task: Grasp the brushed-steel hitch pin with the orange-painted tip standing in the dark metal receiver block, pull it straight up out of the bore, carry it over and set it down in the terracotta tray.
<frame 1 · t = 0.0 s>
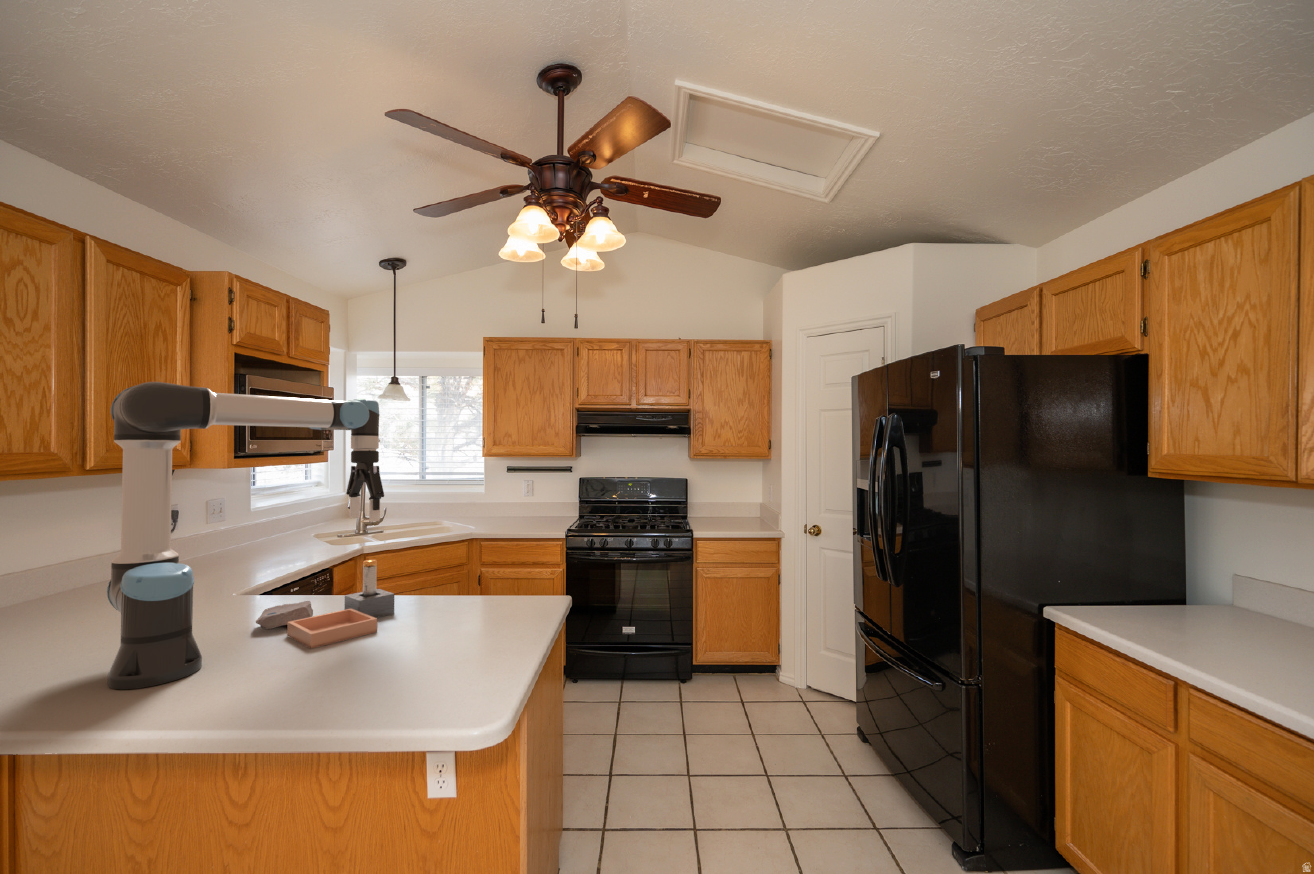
hand: (364, 519, 167), 28 cm above the countertop, fingers open, 13 cm apart
decorative stone: (282, 627, 153), on the countertop
receiver block: (369, 614, 164), on the countertop
tray: (332, 633, 146), on the countertop
pin: (369, 587, 164), in the receiver block
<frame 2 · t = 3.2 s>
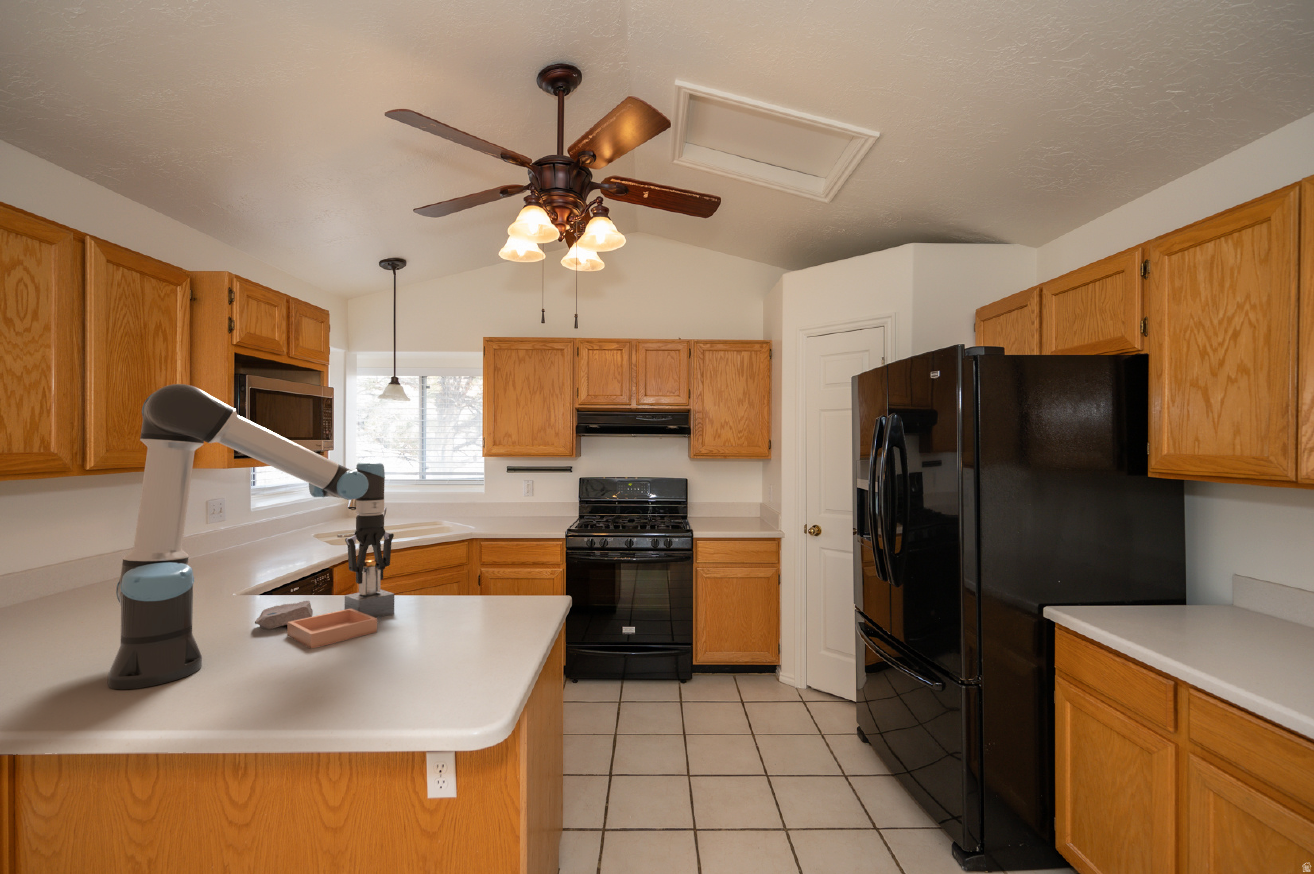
hand: (369, 592, 164), 7 cm above the countertop, fingers closed on pin, 4 cm apart
pin: (369, 587, 164), in the receiver block, touching gripper
everything else where it was.
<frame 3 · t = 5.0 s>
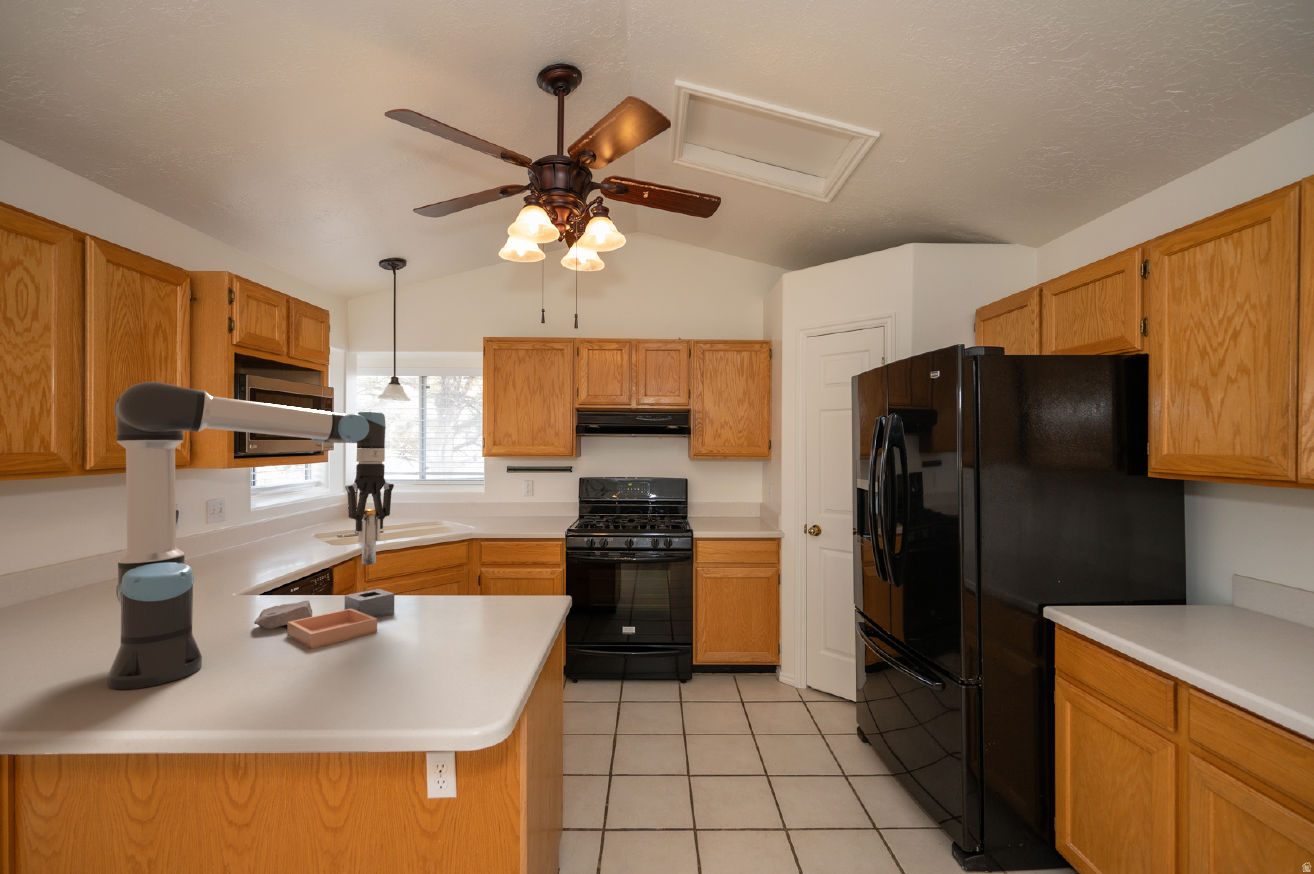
hand: (369, 541, 164), 22 cm above the countertop, fingers closed on pin, 4 cm apart
pin: (369, 536, 164), point 23 cm above the countertop, touching gripper
everything else where it was.
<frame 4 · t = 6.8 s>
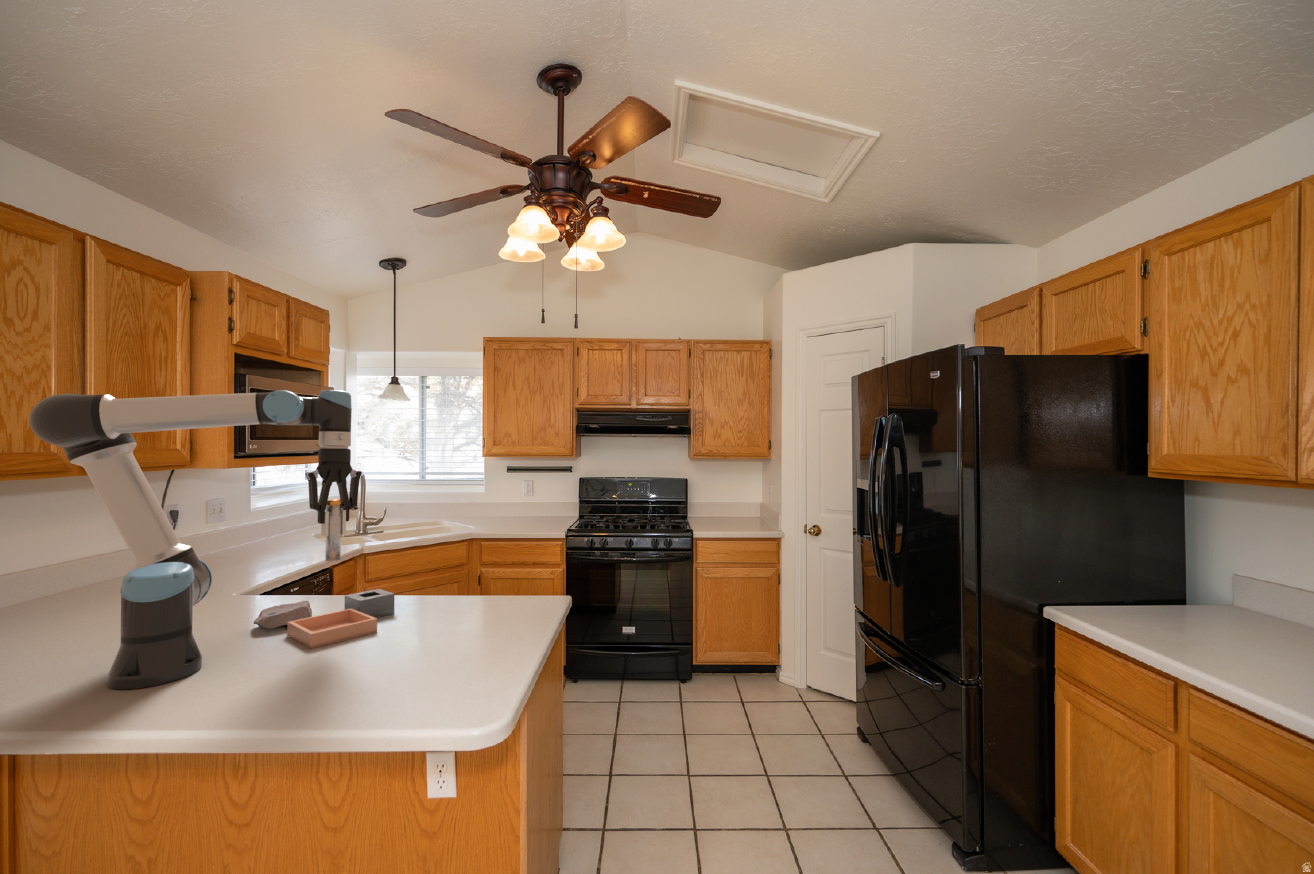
hand: (333, 534, 147), 26 cm above the countertop, fingers closed on pin, 4 cm apart
pin: (333, 529, 147), point 28 cm above the countertop, touching gripper
everything else where it was.
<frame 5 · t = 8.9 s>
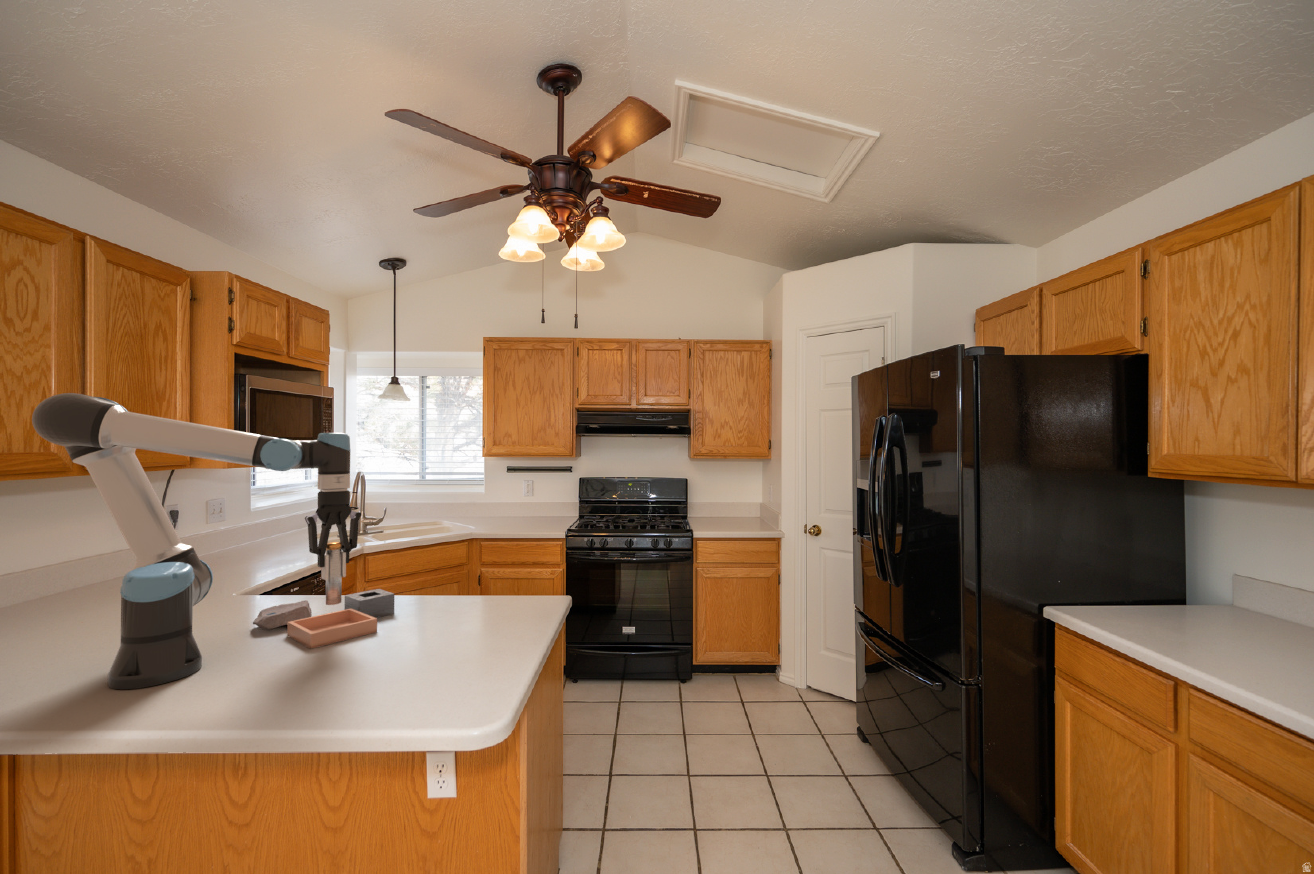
hand: (333, 577, 147), 15 cm above the countertop, fingers closed on pin, 4 cm apart
pin: (333, 572, 147), point 16 cm above the countertop, touching gripper
everything else where it was.
when the fingers open (8 cm above the countertop, at t = 10.5 s): pin stays where it is, resting on tray.
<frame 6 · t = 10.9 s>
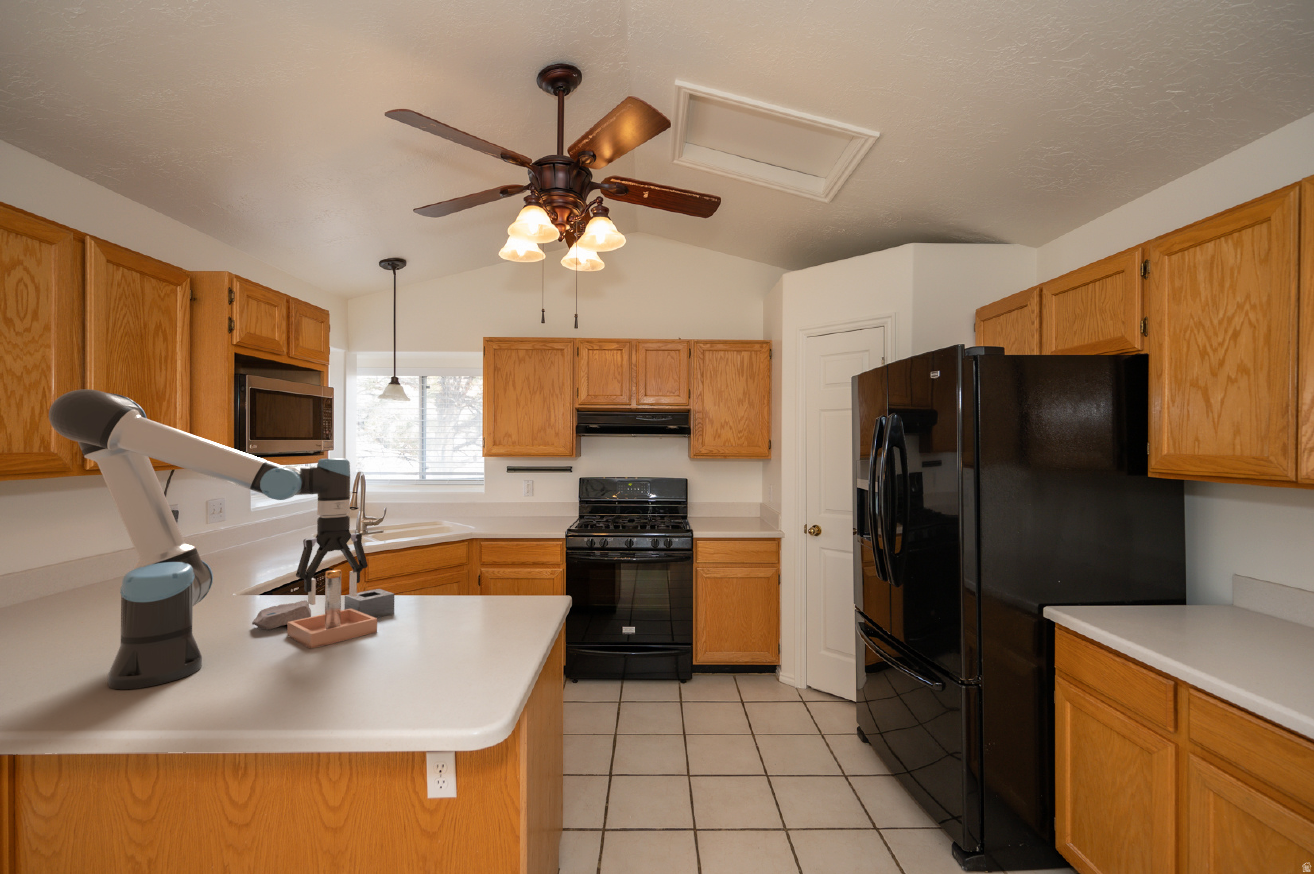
hand: (332, 599, 147), 9 cm above the countertop, fingers open, 9 cm apart
pin: (333, 601, 147), in the tray, point 9 cm above the countertop
everything else where it was.
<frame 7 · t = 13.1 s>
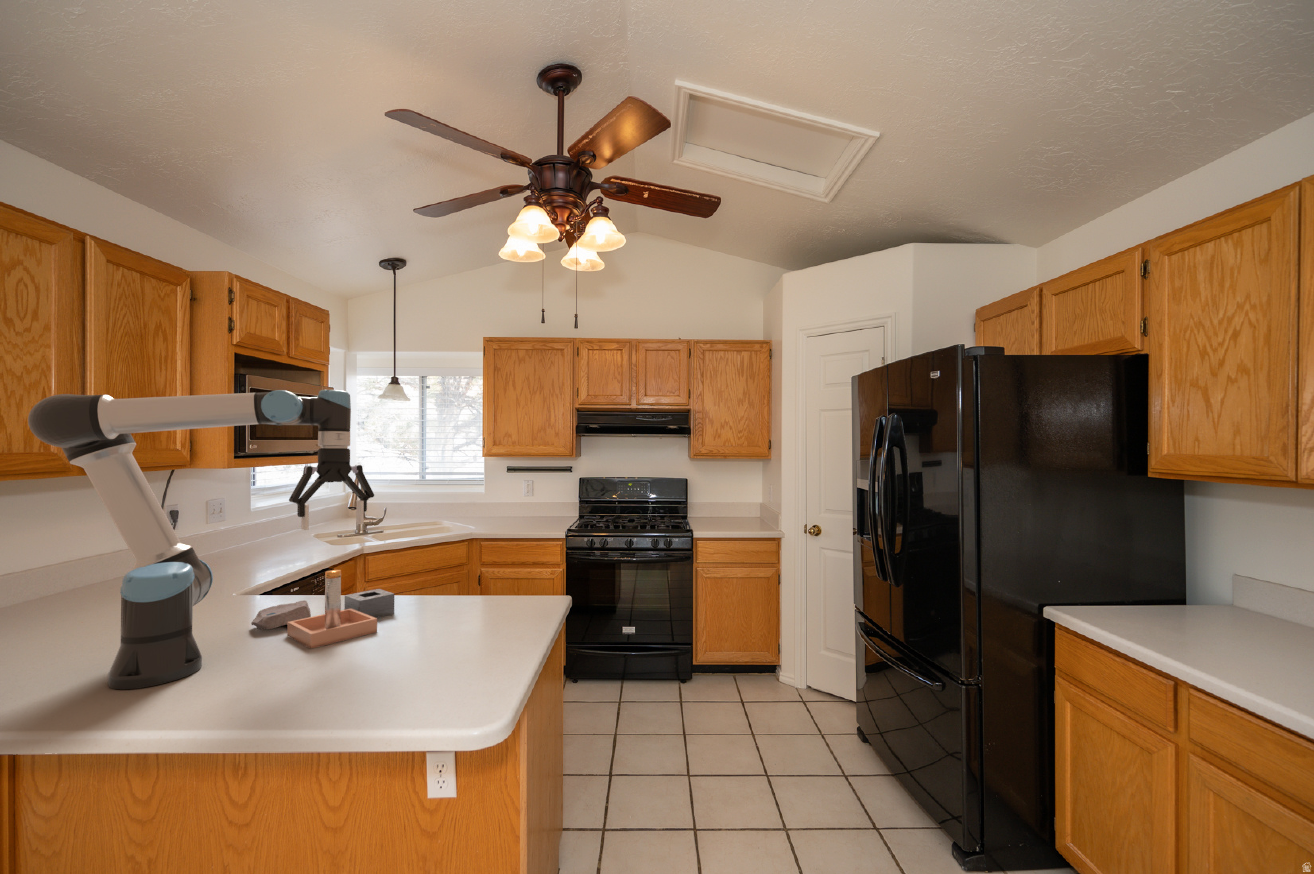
hand: (333, 526, 147), 29 cm above the countertop, fingers open, 13 cm apart
nothing on the countertop moved.
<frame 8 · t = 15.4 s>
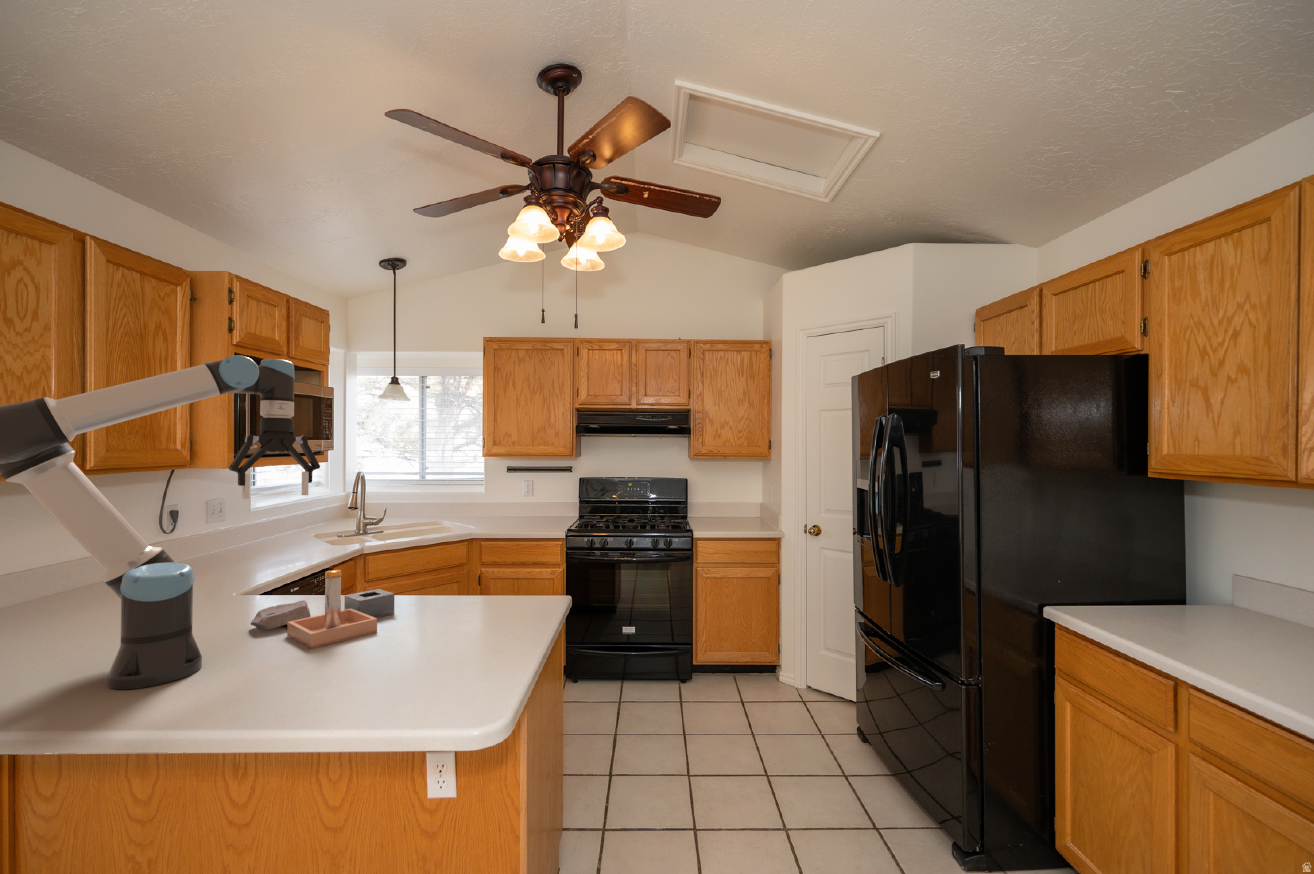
hand: (276, 496, 146), 37 cm above the countertop, fingers open, 13 cm apart
nothing on the countertop moved.
at the end: pin inside the target area on the tray (0.0 cm from its centre), point 8.6 cm above the tray's base; pin moved 17.2 cm from its start; the gripper is holding nothing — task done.
